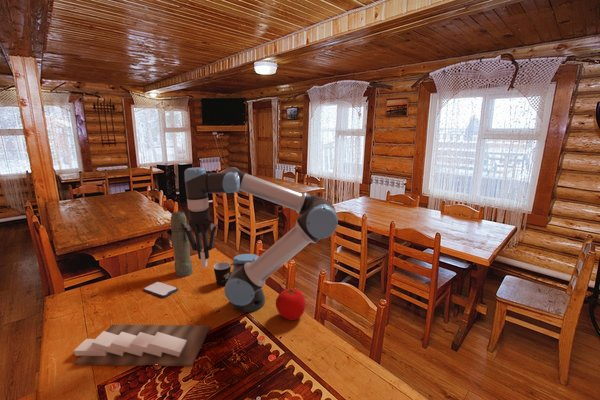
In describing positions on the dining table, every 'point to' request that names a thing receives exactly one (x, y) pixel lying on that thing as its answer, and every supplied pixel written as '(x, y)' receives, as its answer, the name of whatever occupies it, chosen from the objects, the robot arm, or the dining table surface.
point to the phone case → (160, 289)
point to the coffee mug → (222, 273)
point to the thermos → (180, 245)
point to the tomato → (290, 304)
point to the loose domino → (167, 344)
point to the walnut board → (186, 358)
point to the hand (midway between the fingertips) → (204, 266)
